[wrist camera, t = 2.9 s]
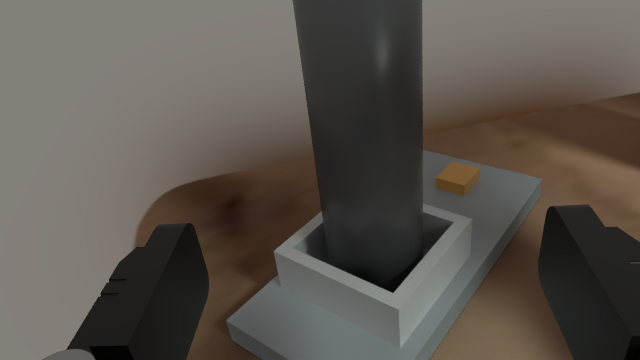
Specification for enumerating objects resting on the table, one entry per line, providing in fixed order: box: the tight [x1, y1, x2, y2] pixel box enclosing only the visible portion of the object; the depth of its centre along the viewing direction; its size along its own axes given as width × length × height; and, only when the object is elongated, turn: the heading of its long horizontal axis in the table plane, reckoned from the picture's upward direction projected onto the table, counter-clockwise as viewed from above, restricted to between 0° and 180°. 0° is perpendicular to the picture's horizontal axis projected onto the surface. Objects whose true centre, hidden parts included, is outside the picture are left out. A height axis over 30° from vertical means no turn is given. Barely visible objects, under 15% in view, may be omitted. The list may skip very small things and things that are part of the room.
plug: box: [293, 0, 423, 293], centre depth 22 cm, size 5×5×18 cm
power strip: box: [226, 150, 542, 360], centre depth 29 cm, size 20×9×4 cm, turn 141°
